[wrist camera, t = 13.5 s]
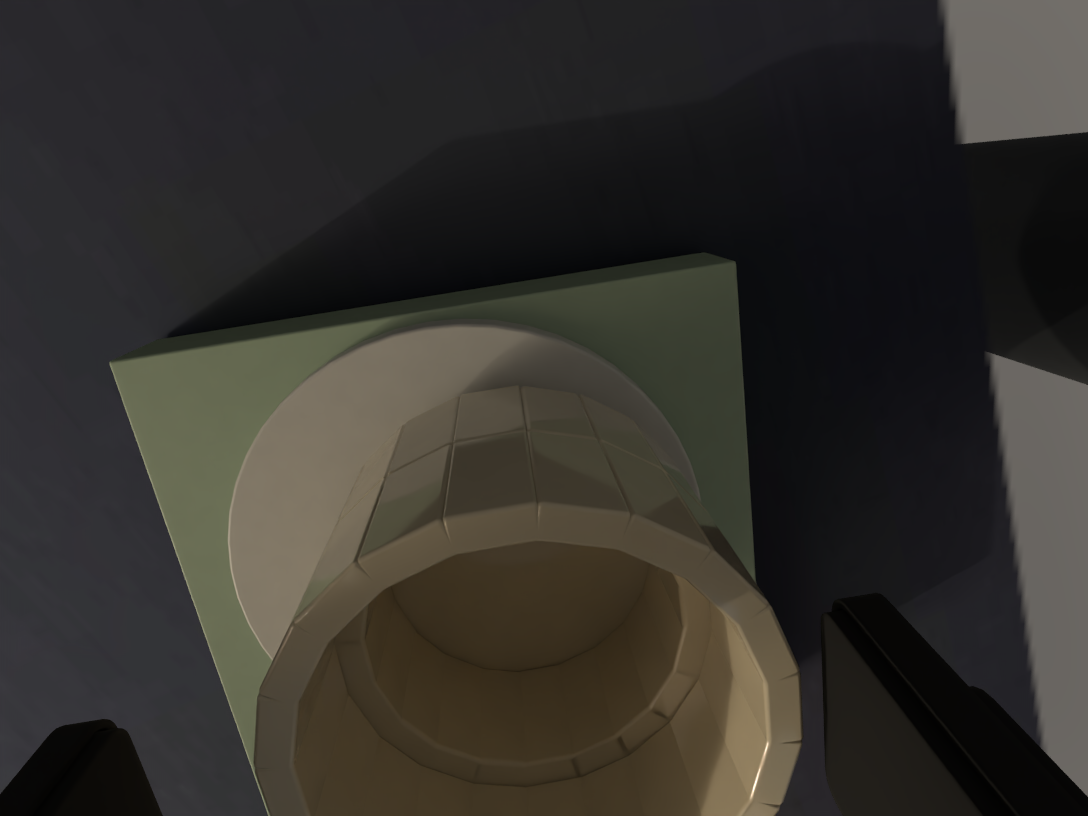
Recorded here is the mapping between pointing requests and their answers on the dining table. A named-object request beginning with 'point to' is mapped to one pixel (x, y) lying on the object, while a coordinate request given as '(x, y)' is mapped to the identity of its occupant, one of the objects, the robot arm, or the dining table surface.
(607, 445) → the tan faceted cup
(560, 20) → the dining table surface
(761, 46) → the dining table surface
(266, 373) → the scale
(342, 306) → the dining table surface
